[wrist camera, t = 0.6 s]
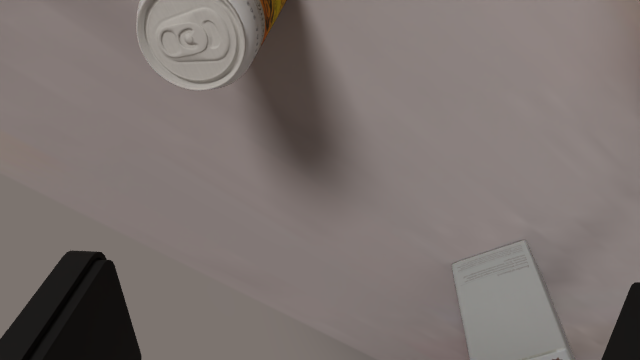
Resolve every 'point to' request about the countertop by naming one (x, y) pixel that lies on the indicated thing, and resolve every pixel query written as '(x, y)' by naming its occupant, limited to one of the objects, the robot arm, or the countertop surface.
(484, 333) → the supplement box
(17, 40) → the countertop surface
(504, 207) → the countertop surface
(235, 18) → the beer can
